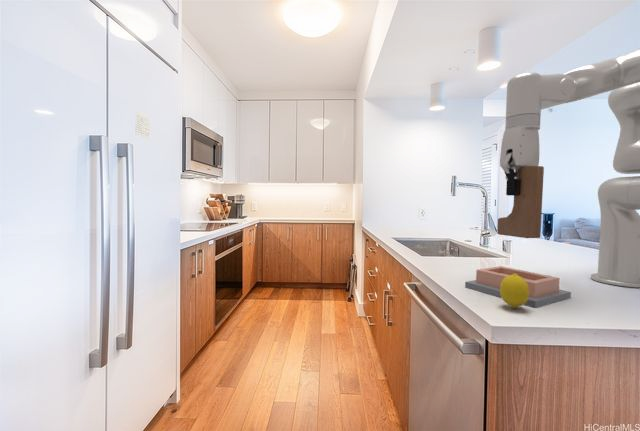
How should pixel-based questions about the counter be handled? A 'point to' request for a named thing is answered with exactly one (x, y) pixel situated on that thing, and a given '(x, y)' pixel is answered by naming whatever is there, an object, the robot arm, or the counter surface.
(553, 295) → the baseplate
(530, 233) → the wooden block
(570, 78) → the robot arm
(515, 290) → the lemon
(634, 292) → the counter surface
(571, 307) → the counter surface
